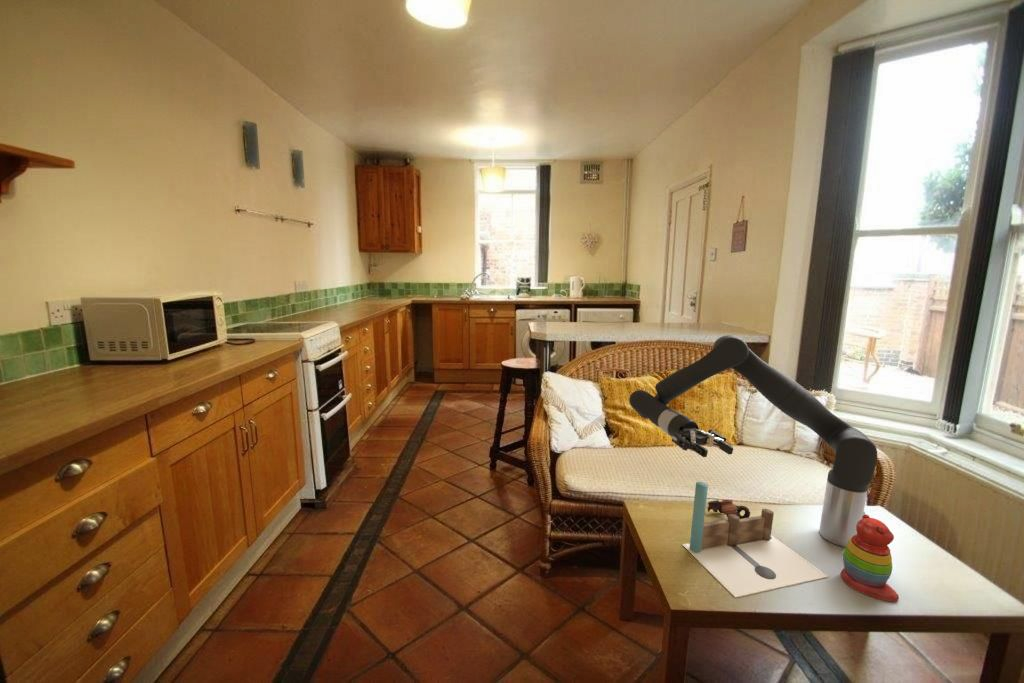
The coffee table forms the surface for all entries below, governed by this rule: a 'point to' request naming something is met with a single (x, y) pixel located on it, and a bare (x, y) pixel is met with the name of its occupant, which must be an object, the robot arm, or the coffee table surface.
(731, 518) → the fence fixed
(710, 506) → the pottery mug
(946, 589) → the coffee table surface
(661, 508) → the coffee table surface
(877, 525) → the stacking bear
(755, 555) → the card
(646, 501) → the coffee table surface
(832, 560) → the coffee table surface
